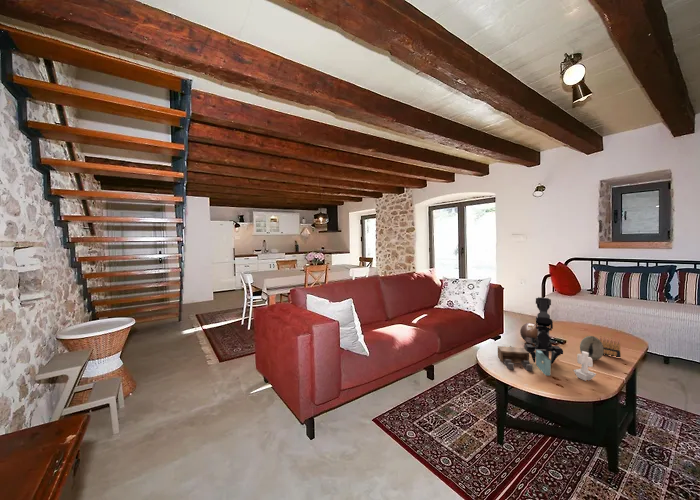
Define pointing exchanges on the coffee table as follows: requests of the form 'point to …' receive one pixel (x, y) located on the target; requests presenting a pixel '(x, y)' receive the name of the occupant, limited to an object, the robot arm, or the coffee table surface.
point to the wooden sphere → (529, 332)
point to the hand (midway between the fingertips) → (542, 363)
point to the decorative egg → (592, 347)
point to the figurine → (584, 366)
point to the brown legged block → (514, 357)
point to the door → (543, 362)
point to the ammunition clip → (611, 347)
